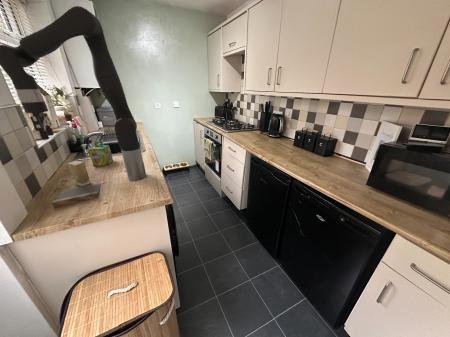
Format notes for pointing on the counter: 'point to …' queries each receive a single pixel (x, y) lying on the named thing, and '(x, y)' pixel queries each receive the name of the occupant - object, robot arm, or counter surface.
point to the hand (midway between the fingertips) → (48, 137)
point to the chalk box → (100, 154)
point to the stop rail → (74, 199)
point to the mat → (79, 191)
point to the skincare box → (79, 173)
